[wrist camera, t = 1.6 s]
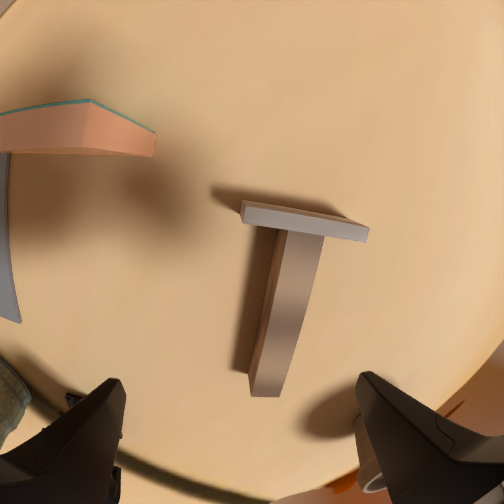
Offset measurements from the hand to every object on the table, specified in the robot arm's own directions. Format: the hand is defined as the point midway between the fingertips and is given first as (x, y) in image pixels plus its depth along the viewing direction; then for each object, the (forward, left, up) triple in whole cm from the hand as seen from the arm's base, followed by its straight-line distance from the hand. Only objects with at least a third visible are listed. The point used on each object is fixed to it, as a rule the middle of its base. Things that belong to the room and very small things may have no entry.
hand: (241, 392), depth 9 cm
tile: (+8, +10, -12) cm, 17 cm away
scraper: (-3, -4, -12) cm, 13 cm away
